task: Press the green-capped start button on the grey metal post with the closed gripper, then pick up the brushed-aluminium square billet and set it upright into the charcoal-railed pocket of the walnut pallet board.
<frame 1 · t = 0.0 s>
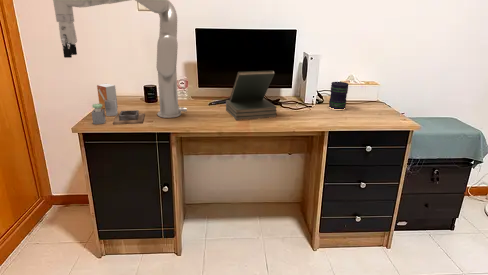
hand: (70, 56, 166), 31 cm above the table, fingers open, 9 cm apart
tilted panel stand: (250, 114, 191), on the table
pallet: (129, 119, 177), on the table
billet: (112, 114, 184), on the table
button post: (99, 122, 171), on the table
start button: (98, 111, 169), point 6 cm above the table, slide at 0.0 cm
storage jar: (336, 108, 206), on the table
small box: (108, 107, 196), on the table
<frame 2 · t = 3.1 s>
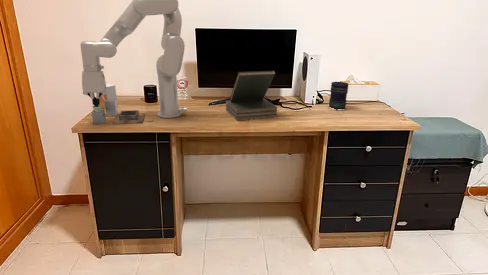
hand: (96, 106, 168), 8 cm above the table, fingers closed
start button: (98, 113, 170), point 5 cm above the table, slide at 0.6 cm, touching gripper
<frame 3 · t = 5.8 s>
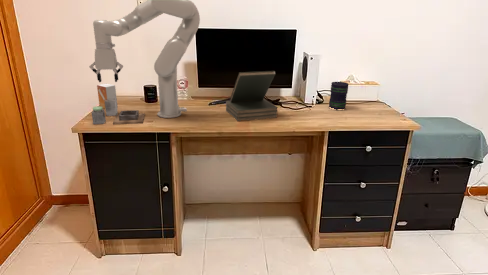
hand: (108, 81, 178), 18 cm above the table, fingers open, 7 cm apart
start button: (98, 114, 170), point 4 cm above the table, slide at 1.3 cm
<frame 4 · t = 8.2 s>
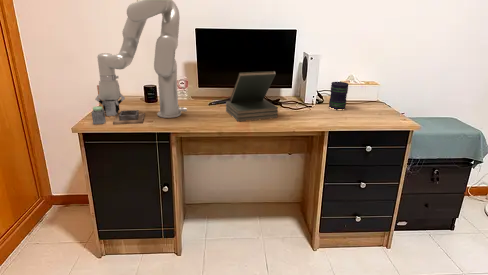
hand: (111, 111, 183), 1 cm above the table, fingers closed on billet, 5 cm apart
billet: (112, 114, 184), on the table, touching gripper
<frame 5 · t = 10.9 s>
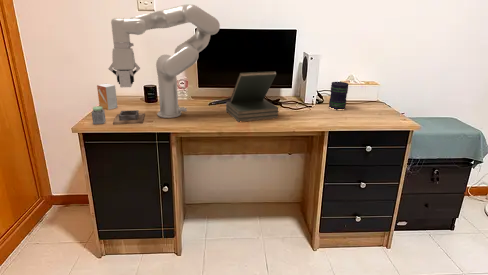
hand: (126, 83, 170), 19 cm above the table, fingers closed on billet, 5 cm apart
billet: (126, 86, 170), point 17 cm above the table, touching gripper
when the fingers open (4 cm above the table, at t = 13.9 s): billet drops 1 cm, resting on pallet.
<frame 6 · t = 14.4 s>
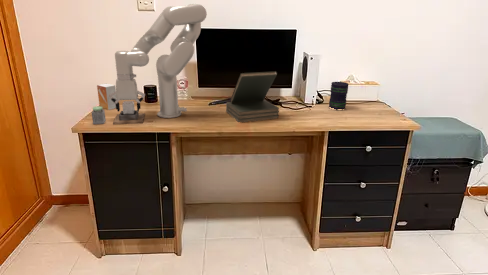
hand: (128, 110, 175), 5 cm above the table, fingers open, 9 cm apart
billet: (129, 117, 176), point 1 cm above the table, touching pallet
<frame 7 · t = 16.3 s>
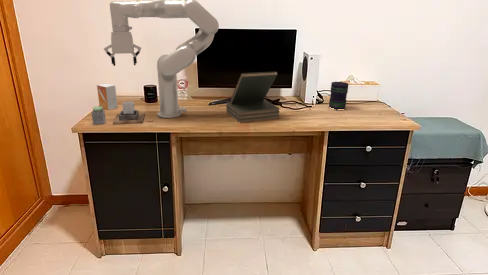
hand: (124, 65, 171), 27 cm above the table, fingers open, 9 cm apart
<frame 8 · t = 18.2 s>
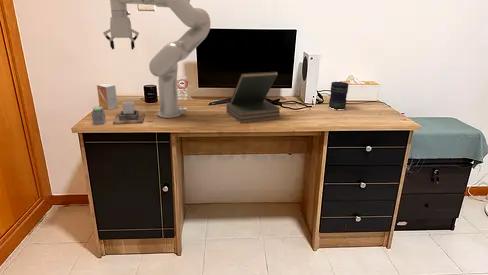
hand: (122, 49, 179), 33 cm above the table, fingers open, 9 cm apart
at the end: billet 0.2 cm off-centre on the pallet, point 1.0 cm above the pallet's base; billet tilted 0°; start button slide at 1.3 cm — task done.
